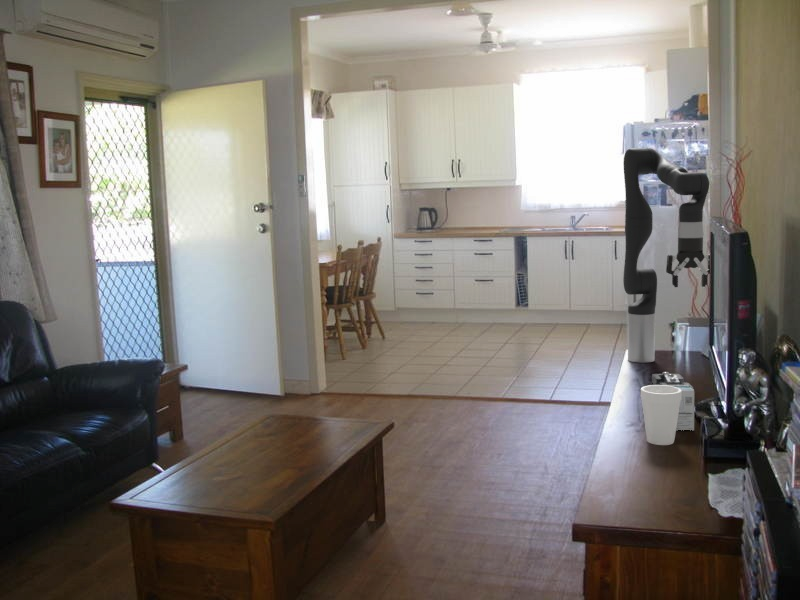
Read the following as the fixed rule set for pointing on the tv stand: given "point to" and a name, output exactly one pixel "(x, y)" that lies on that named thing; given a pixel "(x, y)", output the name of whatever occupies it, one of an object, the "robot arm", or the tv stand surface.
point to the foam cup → (660, 412)
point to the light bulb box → (686, 408)
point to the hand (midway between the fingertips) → (689, 286)
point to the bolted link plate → (671, 379)
